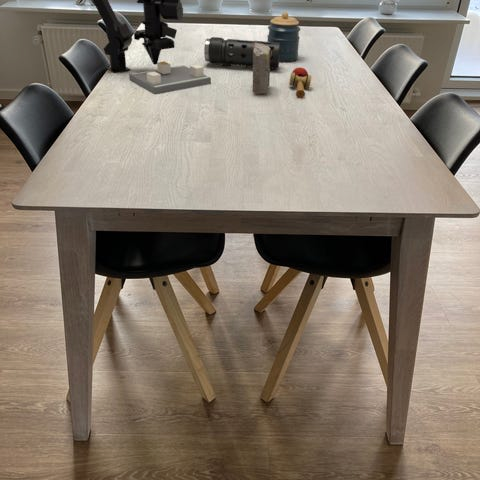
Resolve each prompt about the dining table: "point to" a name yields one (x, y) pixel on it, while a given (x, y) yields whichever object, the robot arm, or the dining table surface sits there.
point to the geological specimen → (261, 68)
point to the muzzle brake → (237, 52)
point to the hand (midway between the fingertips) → (155, 64)
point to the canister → (285, 36)
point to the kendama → (300, 81)
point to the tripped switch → (164, 67)
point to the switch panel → (171, 79)
